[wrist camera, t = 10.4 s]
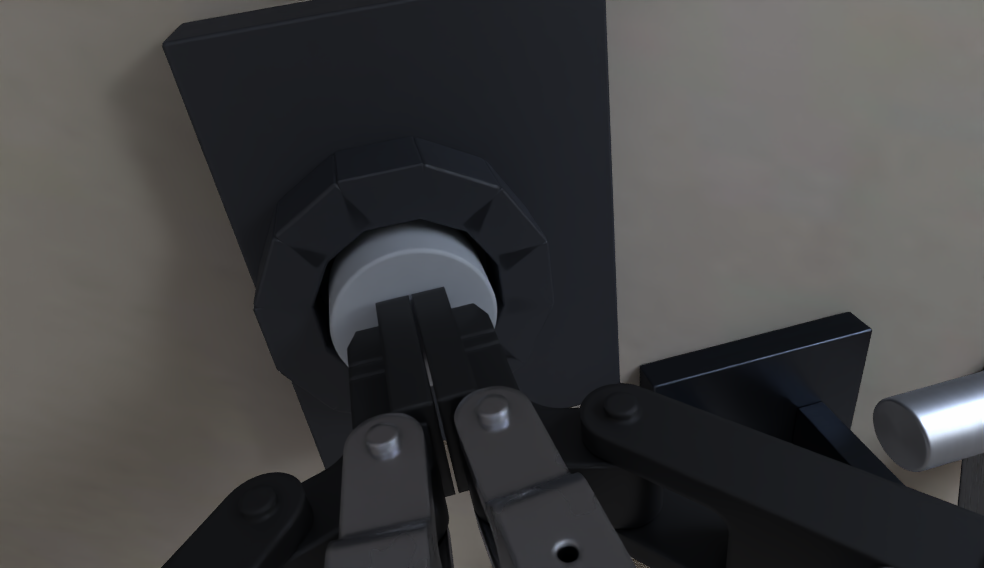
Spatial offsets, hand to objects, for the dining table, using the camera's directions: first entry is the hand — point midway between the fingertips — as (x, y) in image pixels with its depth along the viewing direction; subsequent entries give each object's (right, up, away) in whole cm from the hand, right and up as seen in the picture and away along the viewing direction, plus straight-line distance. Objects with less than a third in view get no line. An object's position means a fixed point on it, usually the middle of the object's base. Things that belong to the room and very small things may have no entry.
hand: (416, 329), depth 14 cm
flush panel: (0, +3, +4) cm, 5 cm away
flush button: (0, +1, +1) cm, 2 cm away
